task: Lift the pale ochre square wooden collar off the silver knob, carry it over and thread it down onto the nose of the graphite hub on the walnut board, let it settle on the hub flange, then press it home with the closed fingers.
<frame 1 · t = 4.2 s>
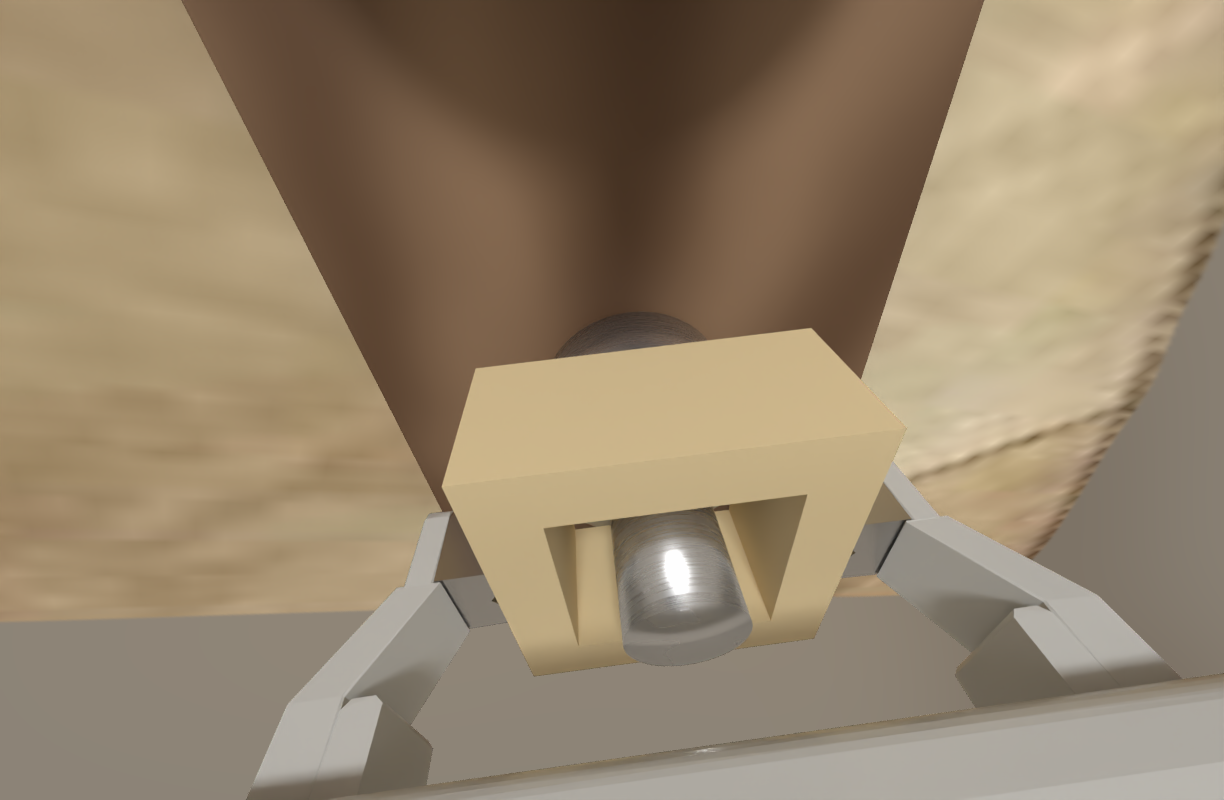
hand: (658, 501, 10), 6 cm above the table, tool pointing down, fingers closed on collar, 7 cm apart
silver knob: (633, 392, 13), resting on base board
collar: (649, 465, 10), point 4 cm above the table, touching gripper, silver knob
base board: (606, 76, 9), on the table
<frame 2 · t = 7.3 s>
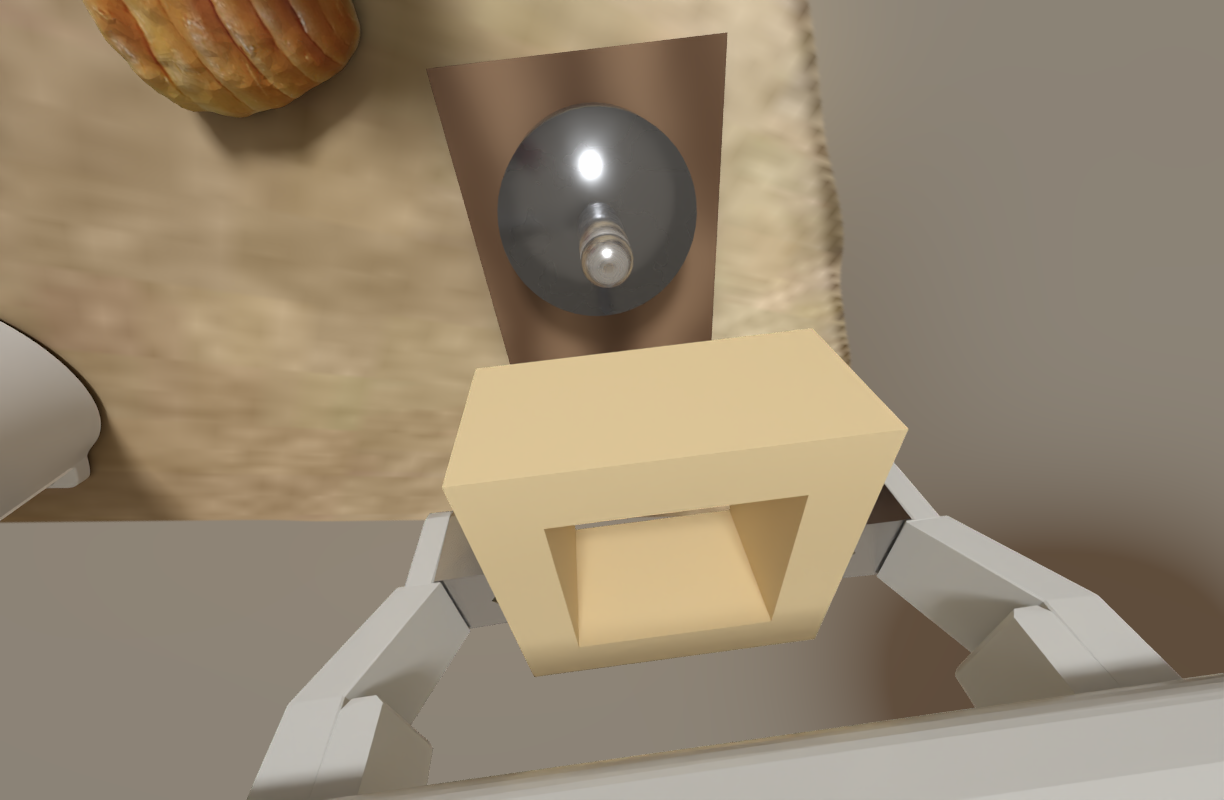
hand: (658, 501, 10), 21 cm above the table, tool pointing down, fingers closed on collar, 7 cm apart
hub: (595, 210, 24), resting on base board
collar: (650, 465, 10), point 20 cm above the table, touching gripper
pastry: (241, 15, 20), on the table
base board: (606, 312, 30), on the table
when the fingers open (7 cm above the table, at t = 10.3 s): collar drops 1 cm, resting on hub.
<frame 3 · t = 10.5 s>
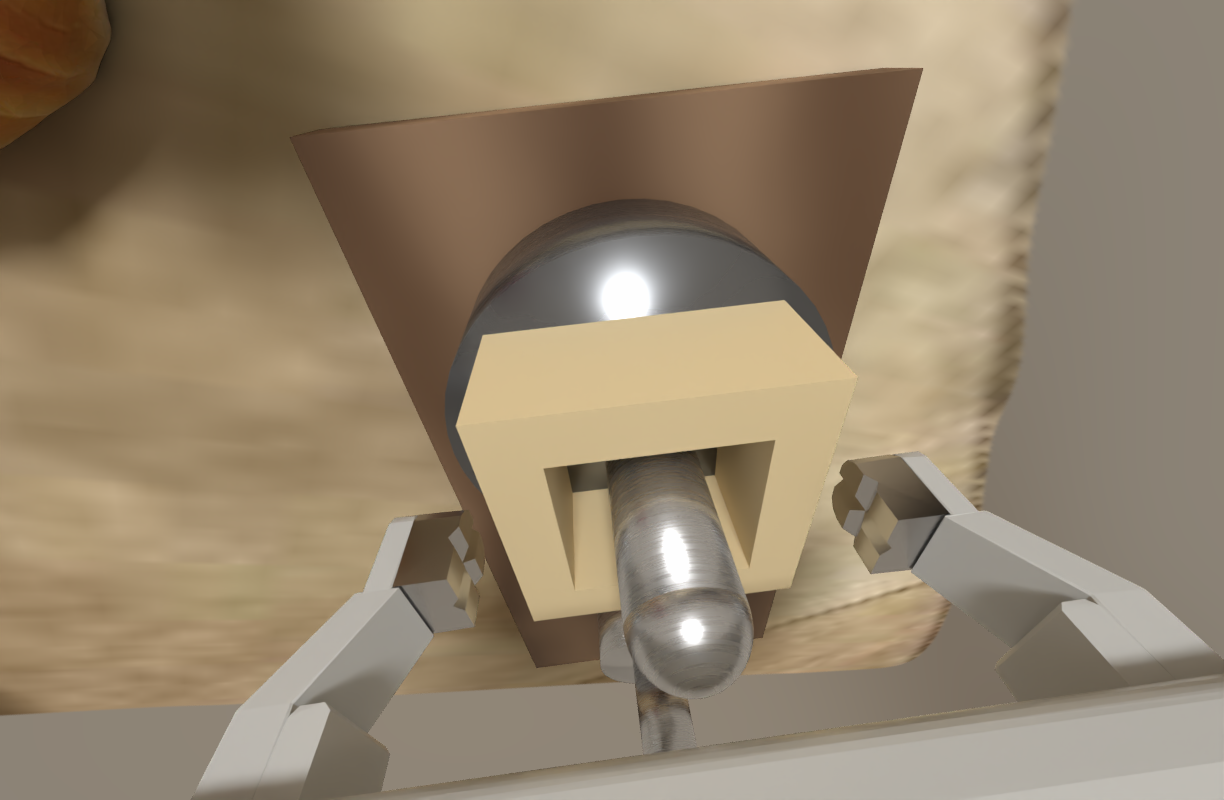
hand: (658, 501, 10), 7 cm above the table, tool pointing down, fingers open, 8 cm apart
silver knob: (646, 598, 23), resting on base board
hub: (629, 367, 14), resting on base board
collar: (640, 430, 11), point 4 cm above the table, touching hub
base board: (635, 480, 19), on the table
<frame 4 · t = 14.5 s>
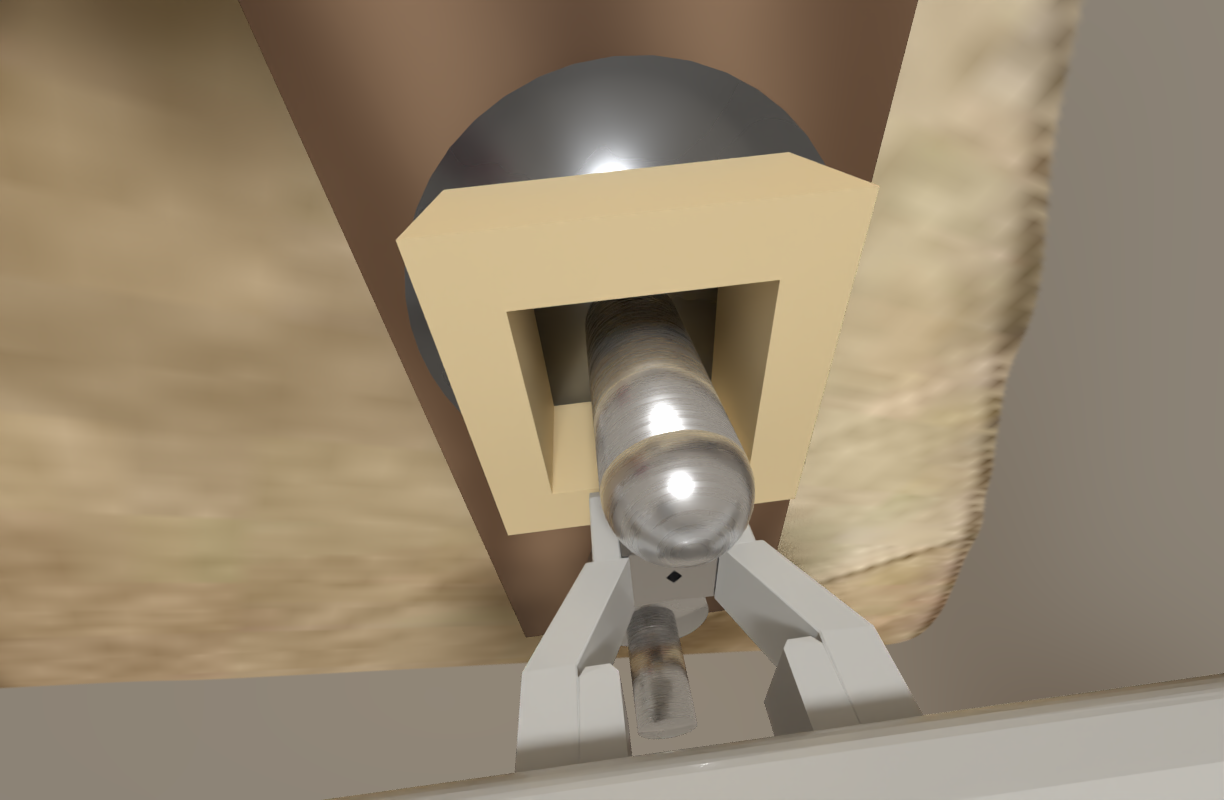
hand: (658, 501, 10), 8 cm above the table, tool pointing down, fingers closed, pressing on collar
silver knob: (640, 558, 21), resting on base board
hub: (618, 276, 13), resting on base board
collar: (628, 325, 10), point 4 cm above the table, touching gripper, hub
base board: (627, 424, 18), on the table
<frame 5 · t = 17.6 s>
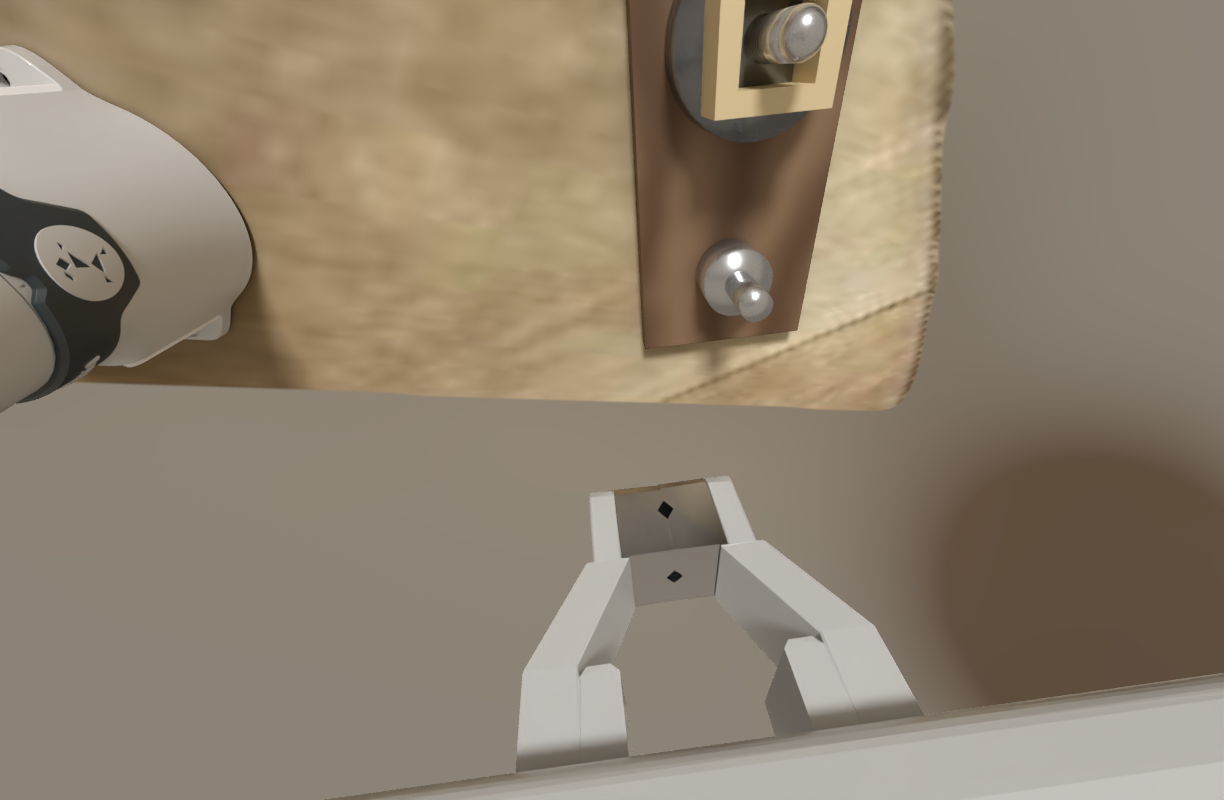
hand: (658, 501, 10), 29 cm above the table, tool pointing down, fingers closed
silver knob: (727, 270, 36), resting on base board
hub: (744, 42, 27), resting on base board
collar: (761, 39, 24), point 4 cm above the table, touching hub
base board: (728, 164, 32), on the table
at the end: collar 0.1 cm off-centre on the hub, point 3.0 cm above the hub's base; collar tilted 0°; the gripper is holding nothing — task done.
